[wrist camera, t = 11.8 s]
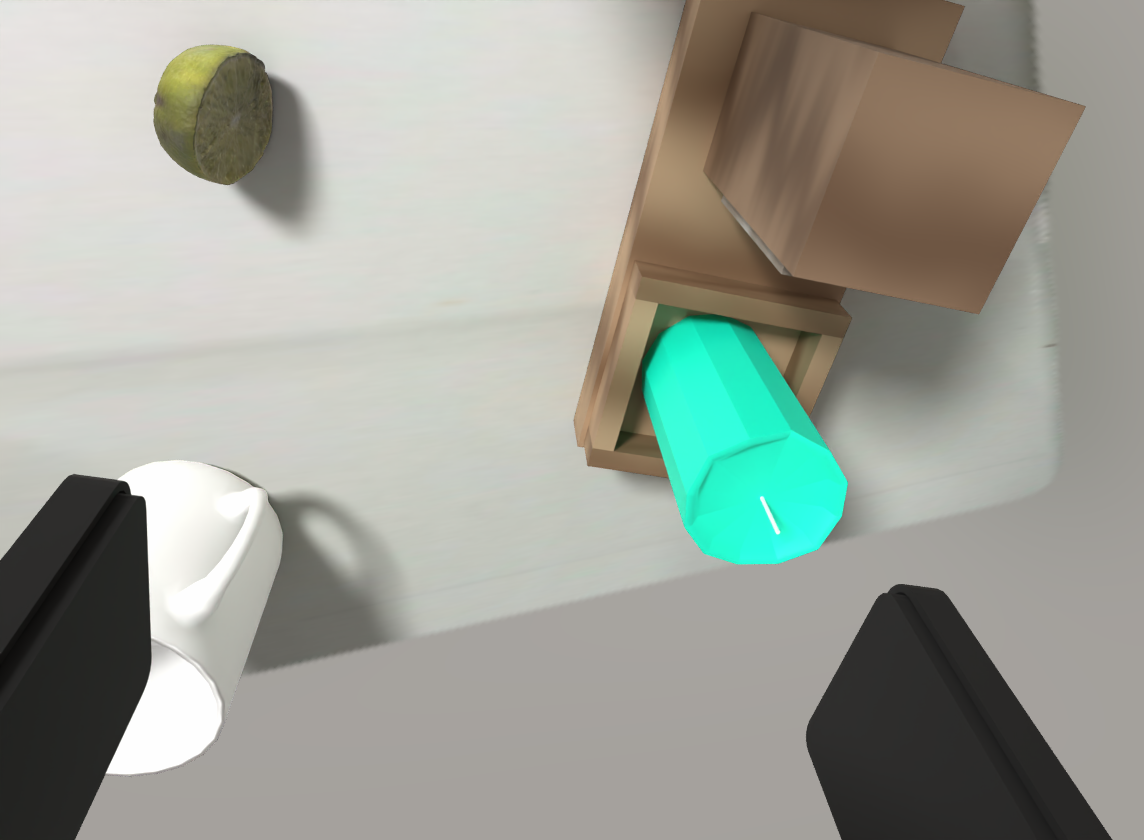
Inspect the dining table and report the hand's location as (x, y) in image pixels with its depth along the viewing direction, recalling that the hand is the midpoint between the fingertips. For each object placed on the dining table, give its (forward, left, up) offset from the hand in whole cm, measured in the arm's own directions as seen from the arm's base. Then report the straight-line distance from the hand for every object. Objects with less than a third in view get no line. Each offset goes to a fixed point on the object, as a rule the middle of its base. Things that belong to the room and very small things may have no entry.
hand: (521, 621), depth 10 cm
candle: (+8, +11, -26) cm, 29 cm away
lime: (+1, -11, -29) cm, 31 cm away
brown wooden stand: (+2, +11, -28) cm, 30 cm away
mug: (+22, -12, -28) cm, 38 cm away
